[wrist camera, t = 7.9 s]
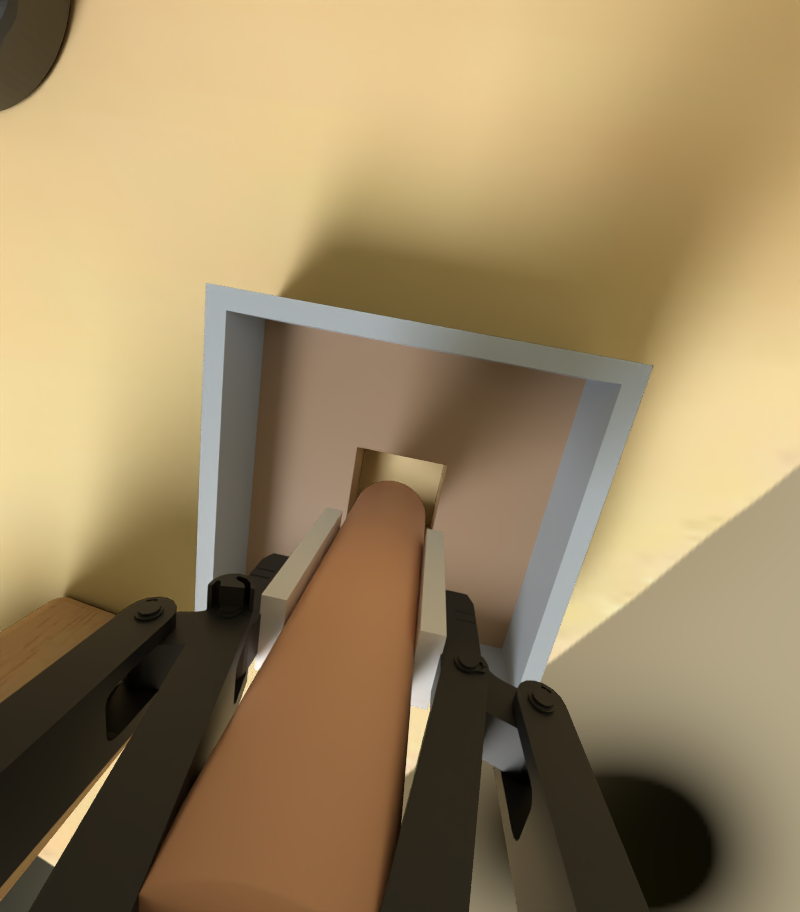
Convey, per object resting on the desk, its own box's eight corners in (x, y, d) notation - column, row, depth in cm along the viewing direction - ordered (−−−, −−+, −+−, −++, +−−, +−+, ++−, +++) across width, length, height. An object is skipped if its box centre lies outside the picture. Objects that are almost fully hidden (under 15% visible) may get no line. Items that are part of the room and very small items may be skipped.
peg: (359, 474, 20) (107, 847, 5) (431, 489, 20) (412, 928, 5) (349, 539, 21) (115, 1016, 6) (417, 554, 21) (363, 1087, 6)
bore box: (272, 304, 24) (206, 283, 17) (589, 363, 23) (653, 365, 16) (250, 575, 29) (193, 642, 22) (505, 632, 28) (526, 719, 21)
